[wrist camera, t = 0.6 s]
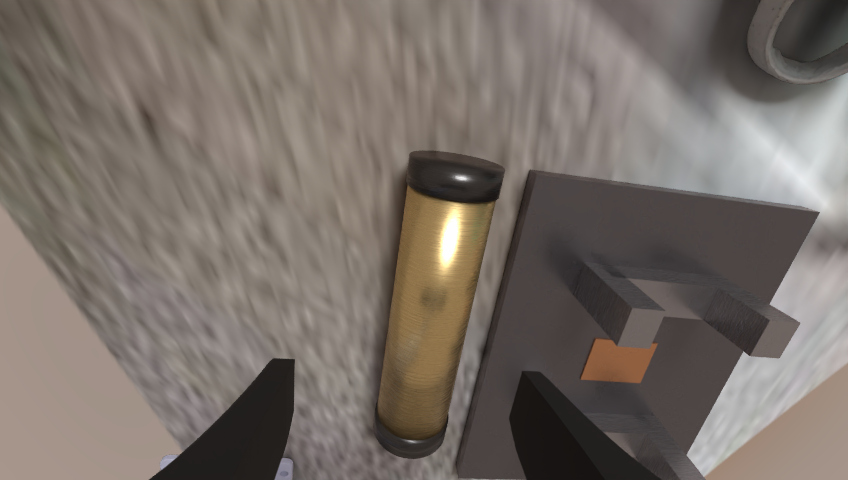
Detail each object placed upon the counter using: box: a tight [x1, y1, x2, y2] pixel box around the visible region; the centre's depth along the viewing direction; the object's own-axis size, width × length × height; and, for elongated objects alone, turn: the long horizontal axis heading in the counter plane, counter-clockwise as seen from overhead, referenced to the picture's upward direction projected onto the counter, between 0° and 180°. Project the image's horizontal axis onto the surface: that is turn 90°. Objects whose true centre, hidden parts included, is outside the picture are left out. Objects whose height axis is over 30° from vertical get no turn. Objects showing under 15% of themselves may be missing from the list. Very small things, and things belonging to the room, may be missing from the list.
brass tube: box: [373, 151, 505, 459], centre depth 20 cm, size 16×4×4 cm, turn 171°
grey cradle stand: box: [456, 170, 820, 480], centre depth 22 cm, size 21×16×6 cm
